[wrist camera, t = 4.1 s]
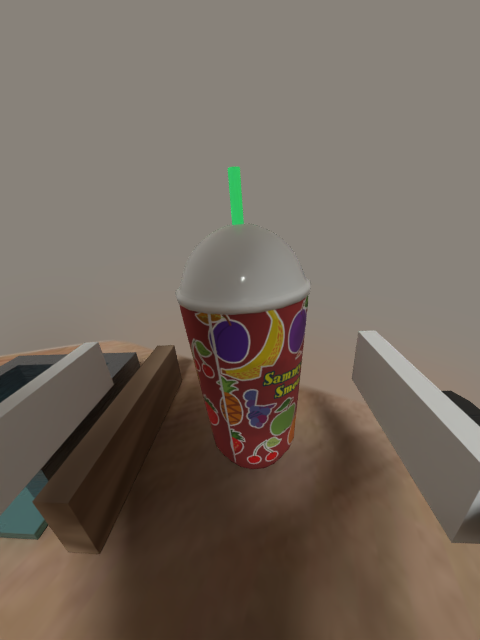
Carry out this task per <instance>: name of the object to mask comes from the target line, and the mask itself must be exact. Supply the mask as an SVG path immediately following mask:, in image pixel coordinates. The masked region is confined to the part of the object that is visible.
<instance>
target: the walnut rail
mask: <svg viewBox="0 0 480 640" xmlns="http://www.w3.org/2000/svg"><path fill="white" fill-rule="evenodd" d="M181 382H182V378H181V374H180V369H179V365H178V360H177V355H176V351H175V346H174V345H168V346H157V347H156V348H155V350H154V351H153V352H152V353H151V355H150V356H149V357H148V358H147V360H146V361H145V362H144V363H143V365H142V366H141V367H140V368H139V370H138V371H137V372H136V373H135V374H134V376H133V377H132V378H131V379H130V381H129V382H128V383H127V384H126V386H125V387H124V388H123V389H122V391H121V392H120V393H119V394H118V396H117V397H116V398H115V399H114V401H113V402H112V403H111V404H110V406H109V407H108V408H107V409H106V411H105V412H104V413H103V414H102V416H101V417H100V418H99V419H98V421H97V422H96V423H95V424H94V425H93V427H92V428H91V429H90V430H89V432H88V433H87V434H86V435H85V437H84V438H83V439H82V440H81V442H80V443H79V444H78V445H77V447H76V448H75V449H74V450H73V452H72V453H71V454H70V455H69V457H68V458H67V459H66V460H65V462H64V463H63V464H62V465H61V467H60V468H59V469H58V470H57V472H56V473H55V474H54V475H53V476H52V478H51V479H50V480H49V481H48V483H47V484H46V485H45V486H44V488H43V489H42V490H41V491H40V493H39V494H38V495H37V496H36V498H35V499H34V500H33V501H32V503H33V504H34V505H35V507H36V508H37V509H38V511H39V512H40V514H41V515H42V516H43V518H44V519H45V521H46V522H47V523H48V525H49V526H50V528H51V529H52V530H53V532H54V533H55V534H56V536H57V537H58V539H59V540H60V541H61V543H62V544H63V546H64V547H65V548H66V550H67V551H68V552H72V553H88V554H100V552H101V550H102V548H103V546H104V544H105V542H106V539H107V537H108V535H109V533H110V531H111V529H112V527H113V525H114V523H115V521H116V518H117V516H118V514H119V512H120V510H121V508H122V506H123V504H124V502H125V499H126V497H127V495H128V493H129V491H130V489H131V487H132V485H133V483H134V481H135V478H136V476H137V474H138V472H139V470H140V468H141V466H142V464H143V462H144V460H145V457H146V455H147V453H148V451H149V449H150V447H151V445H152V443H153V441H154V439H155V436H156V434H157V432H158V430H159V428H160V426H161V424H162V422H163V420H164V418H165V415H166V413H167V411H168V409H169V407H170V405H171V403H172V401H173V399H174V397H175V394H176V392H177V390H178V388H179V386H180V384H181Z"/></svg>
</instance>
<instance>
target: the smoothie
mask: <svg viewBox="0 0 480 640" xmlns="http://www.w3.org/2000/svg"><path fill="white" fill-rule="evenodd" d="M228 178H229V190H230V201H231V214H232V225H227V226H224V227H222V228H220V229H218V230H216V231H214V232H213V233H211V234H210V235H208V236H207V237H206V238H204V239H203V240H202V241H201V242H200V243H199V244H198V245H197V246H196V247H195V249H194V250H193V252H192V253H191V255H190V257H189V258H188V261H187V263H186V265H185V268H184V272H183V275H182V280H181V285H180V287H179V289H178V290H177V291H176V293H175V294H176V297H177V300H178V303H179V305H180V309H181V313H182V317H183V321H184V325H185V329H186V333H187V336H188V340H189V344H190V348H191V352H192V355H193V359H194V363H195V367H196V371H197V375H198V379H199V382H200V386H201V390H202V394H203V398H204V402H205V405H206V409H207V413H208V417H209V421H210V425H211V428H212V432H213V436H214V439H215V443H216V446H217V447H218V448H219V450H220V451H221V452H222V453H223V454H224V456H226V457H228V458H229V459H230V460H231V461H232V462H234V463H235V464H237V465H239V466H240V467H244V468H249V469H259V468H265V467H267V466H269V465H272V464H274V463H275V462H276V461H277V460H278V459H279V458H280V457H282V455H283V454H284V453H285V452H286V451H287V450H288V449H289V447H290V445H291V443H292V441H293V439H294V428H295V419H296V410H297V400H298V391H299V382H300V372H301V363H302V353H303V345H304V335H305V326H306V316H307V307H308V295H309V294H310V289H311V281H310V280H309V279H307V278H306V277H305V275H304V273H303V269H302V267H301V265H300V262H299V260H298V258H297V256H296V254H295V253H294V251H293V250H292V249H291V247H290V246H289V245H288V244H287V243H286V242H285V241H284V240H283V239H282V238H281V237H279V236H278V235H277V234H275V233H274V232H272V231H270V230H268V229H265V228H263V227H260V226H257V225H254V224H244V222H243V210H242V209H243V208H242V193H241V178H240V167H230V168H228Z"/></svg>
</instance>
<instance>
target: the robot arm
mask: <svg viewBox="0 0 480 640" xmlns="http://www.w3.org/2000/svg"><path fill="white" fill-rule="evenodd" d="M352 380H353V381H354V383H355V385H356V386H357V388H358V390H359V391H360V393H361V395H362V396H363V398H364V400H365V401H366V403H367V404H368V406H369V408H370V409H371V411H372V413H373V414H374V416H375V418H376V419H377V421H378V423H379V424H380V426H381V427H382V429H383V431H384V432H385V434H386V436H387V437H388V439H389V441H390V442H391V444H392V446H393V447H394V449H395V450H396V452H397V454H398V455H399V457H400V459H401V460H402V462H403V464H404V465H405V467H406V469H407V470H408V472H409V473H410V475H411V477H412V478H413V480H414V482H415V483H416V485H417V487H418V488H419V490H420V492H421V493H422V495H423V497H424V498H425V500H426V501H427V503H428V505H429V506H430V508H431V510H432V511H433V513H434V515H435V516H436V518H437V520H438V521H439V523H440V524H441V526H442V528H443V529H444V531H445V533H446V534H447V536H448V538H449V539H450V541H451V543H476V544H480V409H478V408H477V407H476V406H475V405H474V404H473V403H471V402H470V401H468V400H466V399H465V398H463V397H461V396H459V395H457V394H456V393H454V392H452V391H440V390H439V389H438V388H437V387H436V386H435V385H434V384H433V383H432V382H431V381H430V380H429V379H427V378H426V377H425V376H424V375H423V374H422V373H421V372H420V371H419V370H417V368H415V367H414V366H413V365H412V364H411V363H410V362H409V361H408V360H407V359H405V357H403V356H402V355H401V354H400V353H399V352H398V351H397V350H396V349H395V348H394V347H393V346H392V345H390V344H389V343H388V342H387V341H386V340H385V339H384V338H383V337H382V336H380V335H379V334H378V333H377V332H376V331H358V338H357V345H356V352H355V359H354V366H353V374H352ZM113 385H114V383H113V381H112V378H111V375H110V373H109V370H108V367H107V364H106V362H105V359H104V356H103V353H102V351H101V348H100V345H99V343H98V342H88V343H83V344H82V345H81V346H79V347H78V348H76V349H75V350H74V351H72V352H71V353H70V354H68V355H67V356H65V357H64V358H63V359H61V360H60V361H58V362H57V363H56V364H54V365H53V366H51V367H50V368H49V369H47V370H46V371H44V372H43V373H42V374H40V375H39V376H37V377H36V378H35V379H33V380H32V381H30V382H29V383H28V384H26V385H25V386H23V387H22V388H21V389H19V390H18V391H16V392H15V393H14V394H12V395H11V396H9V397H8V398H7V399H5V400H4V401H2V402H1V403H0V515H1V514H2V513H3V512H4V511H5V510H6V508H7V507H8V506H9V505H10V504H11V503H12V501H13V500H14V499H15V498H16V497H17V496H18V495H19V493H20V492H21V491H22V490H23V489H24V488H25V486H26V485H27V484H28V483H29V482H30V481H31V480H32V478H33V477H34V476H35V475H36V474H37V473H38V471H39V470H40V469H41V468H42V467H43V466H44V465H45V463H46V462H47V461H48V460H49V459H50V458H51V456H52V455H53V454H54V453H55V452H56V451H57V449H58V448H59V447H60V446H61V445H62V444H63V443H64V441H65V440H66V439H67V438H68V437H69V436H70V434H71V433H72V432H73V431H74V430H75V429H76V428H77V426H78V425H79V424H80V423H81V422H82V421H83V419H84V418H85V417H86V416H87V415H88V414H89V412H90V411H91V410H92V409H93V408H94V407H95V406H96V404H97V403H98V402H99V401H100V400H101V399H102V397H103V396H104V395H105V394H106V393H107V392H108V391H109V389H110V388H111V387H112V386H113Z"/></svg>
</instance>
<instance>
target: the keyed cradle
mask: <svg viewBox="0 0 480 640" xmlns="http://www.w3.org/2000/svg"><path fill="white" fill-rule="evenodd" d="M67 355H68V354H67ZM67 355H33V356H18V357H16V358H14V359H13V360H11V361H9V362H7V363H6V364H4V365H2V366H0V403H1V402H2V401H4V400H5V399H7V398H8V397H9V396H11V395H12V394H14V393H15V392H16V391H18V390H19V389H21V388H22V387H23V386H25V385H26V384H28V383H29V382H30V381H32V380H33V379H35V378H36V377H37V376H39V375H40V374H42V373H43V372H44V371H46V370H47V369H49V368H50V367H51V366H53V365H54V364H56V363H57V362H58V361H60V360H61V359H63V358H64V357H65V356H67ZM103 356H104V359H105V362H106V364H107V367H108V370H109V373H110V375H111V378H112V381H113V383H114V385H113V386H112V387H111V388H110V389H109V391H108V392H107V393H106V394H105V395H104V396H103V397H102V399H101V400H100V401H99V402H98V403H97V404H96V406H95V407H94V408H93V409H92V410H91V411H90V412H89V414H88V415H87V416H86V417H85V418H84V419H83V421H82V422H81V423H80V424H79V425H78V426H77V428H76V429H75V430H74V431H73V432H72V433H71V434H70V436H69V437H68V438H67V439H66V440H65V441H64V443H63V444H62V445H61V446H60V447H59V448H58V449H57V451H56V452H55V453H54V454H53V455H52V456H51V458H50V459H49V460H48V461H47V462H46V463H45V465H44V466H43V467H42V468H41V469H40V470H39V471H38V473H37V474H36V475H35V476H34V477H33V478H32V480H31V481H30V482H29V483H28V484H27V485H26V486H25V488H24V489H23V490H22V491H21V492H20V493H19V495H18V496H17V497H16V498H15V499H14V500H13V501H12V503H11V504H10V505H9V506H8V507H7V508H6V510H5V511H4V512H3V513H2V514H1V515H0V537H4V538H21V539H39V537H40V536H41V534H42V533H43V531H44V530H45V528H46V527H47V525H48V523H47V522H46V521H45V519H44V518H43V516H42V515H41V514H40V512H39V511H38V509H37V508H36V507H35V505H34V504H33V503H32V501H33V500H34V499H35V498H36V496H37V495H38V494H39V493H40V491H41V490H42V489H43V488H44V486H45V485H46V484H47V483H48V481H49V480H50V479H51V478H52V476H53V475H54V474H55V473H56V472H57V470H58V469H59V468H60V467H61V465H62V464H63V463H64V462H65V460H66V459H67V458H68V457H69V455H70V454H71V453H72V452H73V450H74V449H75V448H76V447H77V445H78V444H79V443H80V442H81V440H82V439H83V438H84V437H85V435H86V434H87V433H88V432H89V430H90V429H91V428H92V427H93V425H94V424H95V423H96V422H97V421H98V419H99V418H100V417H101V416H102V414H103V413H104V412H105V411H106V409H107V408H108V407H109V406H110V404H111V403H112V402H113V401H114V399H115V398H116V397H117V396H118V394H119V393H120V392H121V391H122V389H123V388H124V387H125V386H126V384H127V383H128V382H129V381H130V379H131V378H132V377H133V376H134V374H135V373H136V372H137V371H138V370H139V368H140V364H139V361H138V358H137V354H136V352H134V353H103Z"/></svg>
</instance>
